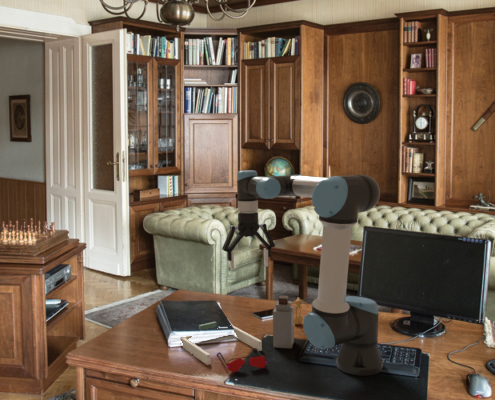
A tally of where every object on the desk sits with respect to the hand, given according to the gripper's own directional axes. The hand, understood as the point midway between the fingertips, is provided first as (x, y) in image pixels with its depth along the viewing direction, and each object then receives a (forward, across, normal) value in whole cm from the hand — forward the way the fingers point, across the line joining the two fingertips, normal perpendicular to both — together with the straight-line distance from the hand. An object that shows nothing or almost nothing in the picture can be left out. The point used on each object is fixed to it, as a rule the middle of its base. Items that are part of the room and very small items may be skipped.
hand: (249, 267), depth 210 cm
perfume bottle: (+28, -9, +12) cm, 31 cm away
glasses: (+28, +10, +21) cm, 36 cm away
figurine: (+27, -22, -5) cm, 35 cm away
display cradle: (+27, +14, +7) cm, 31 cm away
